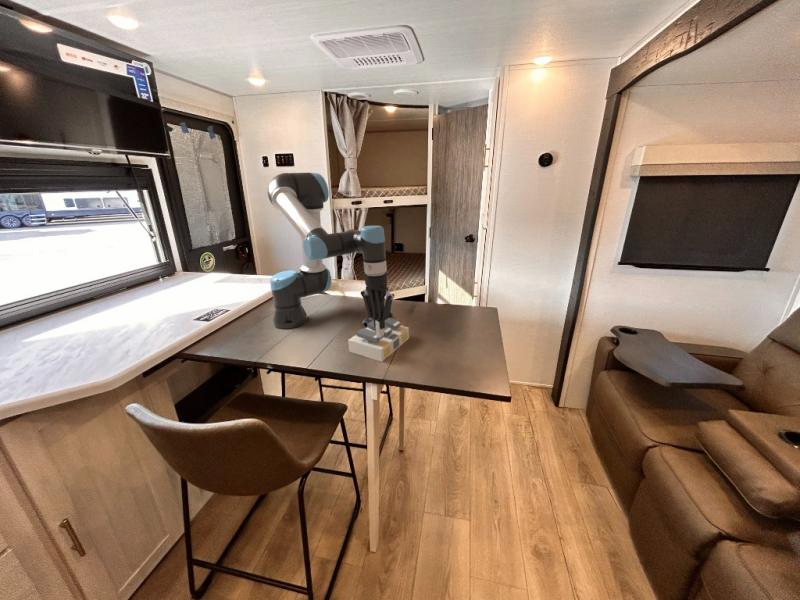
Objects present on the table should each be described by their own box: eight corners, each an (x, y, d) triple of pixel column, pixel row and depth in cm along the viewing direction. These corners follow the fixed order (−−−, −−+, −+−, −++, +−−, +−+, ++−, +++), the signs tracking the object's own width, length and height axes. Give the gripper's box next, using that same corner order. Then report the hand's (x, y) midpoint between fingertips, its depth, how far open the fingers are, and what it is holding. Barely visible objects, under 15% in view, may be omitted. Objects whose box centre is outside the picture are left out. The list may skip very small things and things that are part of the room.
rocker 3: (376, 321, 126) (377, 317, 125) (382, 317, 129) (382, 313, 128) (395, 330, 123) (395, 326, 122) (400, 326, 126) (400, 322, 125)
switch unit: (349, 351, 119) (347, 337, 117) (378, 330, 135) (378, 317, 132) (382, 362, 111) (381, 346, 109) (409, 338, 127) (409, 324, 125)
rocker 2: (367, 327, 121) (367, 323, 120) (372, 323, 124) (373, 319, 123) (386, 337, 117) (386, 333, 117) (391, 332, 121) (392, 328, 120)
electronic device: (376, 317, 152) (358, 325, 139) (378, 306, 150) (359, 314, 137) (392, 323, 148) (375, 332, 135) (394, 312, 146) (377, 320, 134)
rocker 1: (356, 336, 116) (356, 331, 115) (363, 331, 119) (362, 327, 119) (376, 342, 112) (376, 338, 111) (382, 338, 115) (382, 333, 114)
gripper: (353, 274, 105) (359, 336, 113) (385, 278, 98) (389, 344, 106) (366, 268, 111) (371, 328, 119) (397, 272, 104) (400, 335, 112)
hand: (380, 335), depth 113 cm, fingers closed
